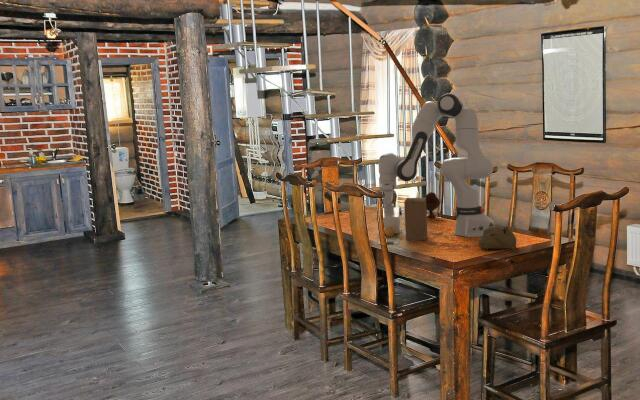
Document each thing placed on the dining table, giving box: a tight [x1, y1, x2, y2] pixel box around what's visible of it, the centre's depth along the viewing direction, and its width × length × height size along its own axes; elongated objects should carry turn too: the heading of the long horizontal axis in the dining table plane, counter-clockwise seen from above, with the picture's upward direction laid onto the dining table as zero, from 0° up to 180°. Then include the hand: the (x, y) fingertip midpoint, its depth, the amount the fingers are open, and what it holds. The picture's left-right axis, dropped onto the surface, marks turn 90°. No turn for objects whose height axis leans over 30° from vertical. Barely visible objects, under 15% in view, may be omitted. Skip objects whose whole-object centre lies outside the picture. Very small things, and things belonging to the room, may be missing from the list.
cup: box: [383, 203, 401, 234], centre depth 366 cm, size 15×10×13 cm
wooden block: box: [403, 197, 428, 241], centre depth 349 cm, size 10×10×20 cm
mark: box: [386, 237, 399, 245], centre depth 348 cm, size 10×12×1 cm
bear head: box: [478, 223, 518, 252], centre depth 321 cm, size 14×18×12 cm
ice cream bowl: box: [422, 191, 441, 219], centre depth 400 cm, size 11×11×15 cm
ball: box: [384, 227, 395, 238], centre depth 358 cm, size 5×5×5 cm
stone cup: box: [382, 190, 402, 214], centre depth 417 cm, size 15×12×15 cm
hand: (388, 210), depth 364 cm, fingers open, 6 cm apart
